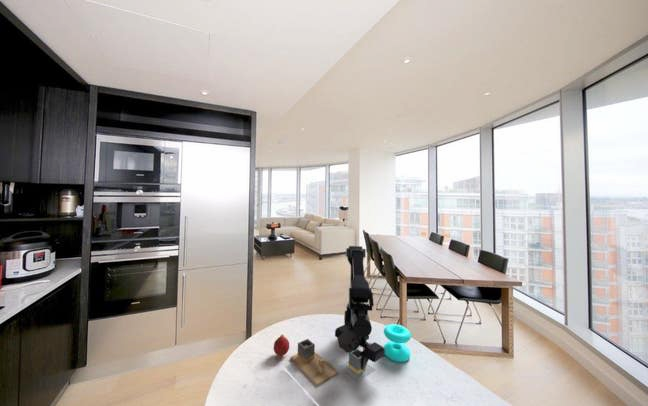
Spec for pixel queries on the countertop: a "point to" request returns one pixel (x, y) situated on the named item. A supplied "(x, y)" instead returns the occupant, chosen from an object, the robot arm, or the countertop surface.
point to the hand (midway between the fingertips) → (357, 365)
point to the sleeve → (355, 361)
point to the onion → (281, 346)
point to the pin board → (312, 363)
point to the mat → (354, 374)
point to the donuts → (397, 342)
